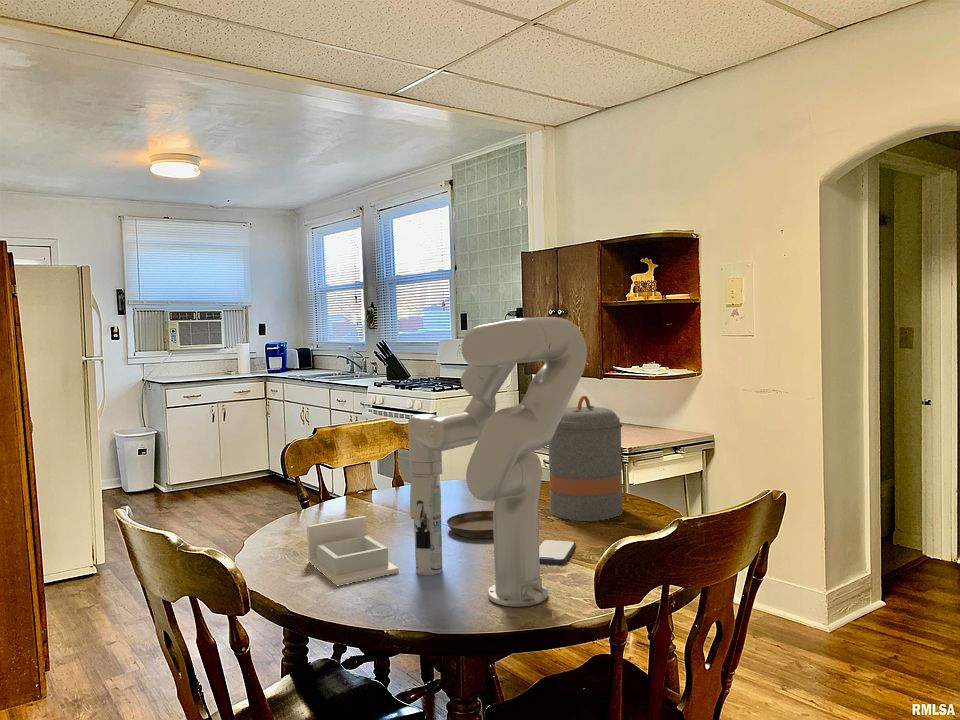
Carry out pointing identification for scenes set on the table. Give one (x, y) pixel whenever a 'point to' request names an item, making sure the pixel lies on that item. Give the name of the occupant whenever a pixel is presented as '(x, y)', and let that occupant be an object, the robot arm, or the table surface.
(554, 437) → the storage container
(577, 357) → the robot arm
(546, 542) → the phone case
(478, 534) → the plant saucer
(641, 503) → the table surface
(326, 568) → the white open box
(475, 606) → the table surface
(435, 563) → the spray can
